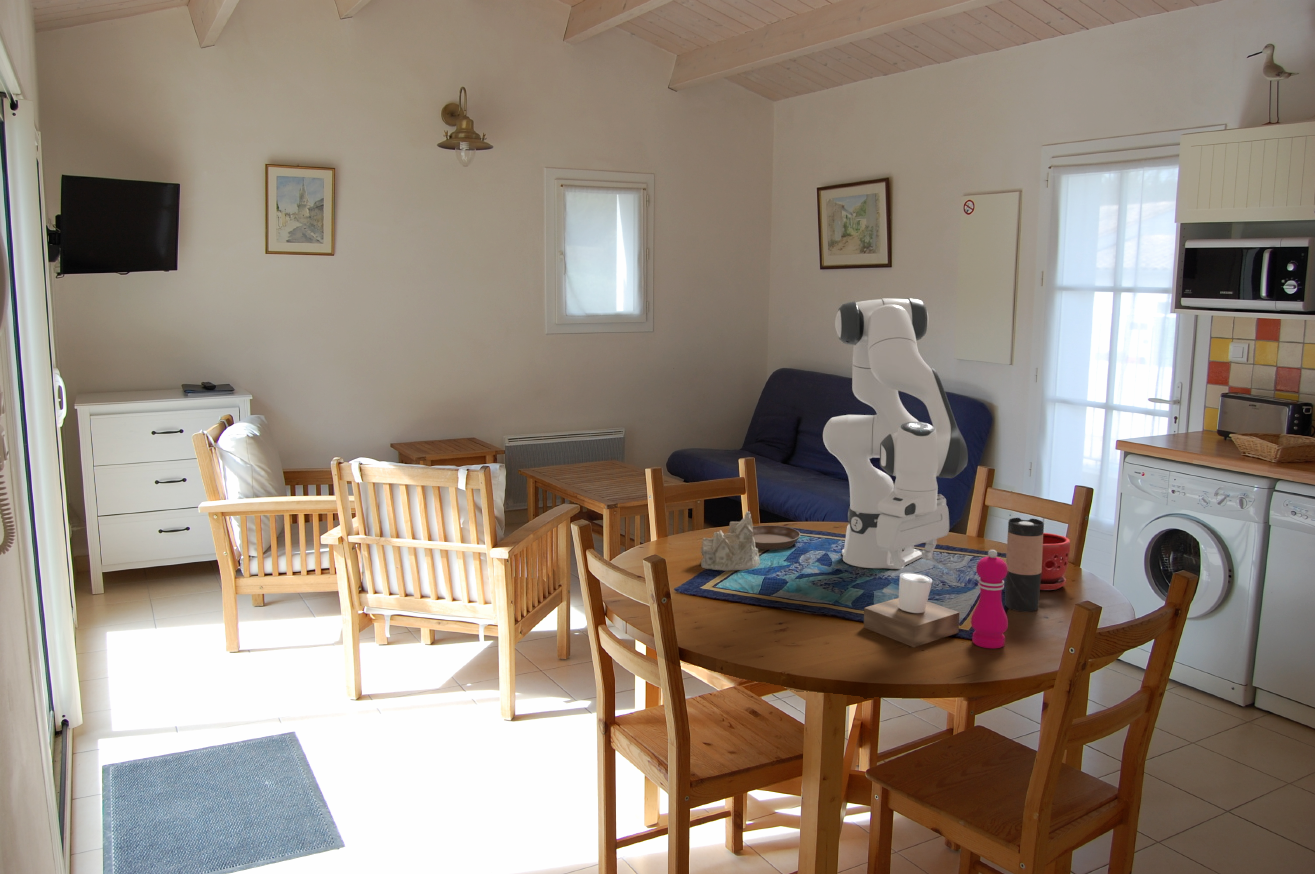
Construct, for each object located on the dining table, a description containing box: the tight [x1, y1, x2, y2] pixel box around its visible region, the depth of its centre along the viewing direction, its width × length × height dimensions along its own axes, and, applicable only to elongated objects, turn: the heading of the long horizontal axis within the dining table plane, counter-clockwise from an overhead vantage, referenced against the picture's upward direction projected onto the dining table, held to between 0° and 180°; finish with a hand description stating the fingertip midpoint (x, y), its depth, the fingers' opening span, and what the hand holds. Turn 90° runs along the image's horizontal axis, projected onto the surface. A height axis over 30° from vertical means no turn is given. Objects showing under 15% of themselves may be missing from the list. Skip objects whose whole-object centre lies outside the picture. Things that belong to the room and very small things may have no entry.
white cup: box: [898, 572, 933, 613], centre depth 209 cm, size 7×7×7 cm
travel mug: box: [1004, 517, 1045, 613], centre depth 222 cm, size 8×8×20 cm
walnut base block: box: [863, 597, 960, 648], centre depth 209 cm, size 14×14×5 cm
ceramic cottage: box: [700, 511, 761, 572], centre depth 259 cm, size 16×16×15 cm
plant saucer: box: [753, 524, 801, 551], centre depth 277 cm, size 18×18×3 cm
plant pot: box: [1040, 532, 1071, 591], centre depth 237 cm, size 13×13×12 cm
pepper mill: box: [970, 549, 1009, 649], centre depth 200 cm, size 7×7×20 cm
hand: (913, 563), depth 208 cm, fingers open, 8 cm apart
